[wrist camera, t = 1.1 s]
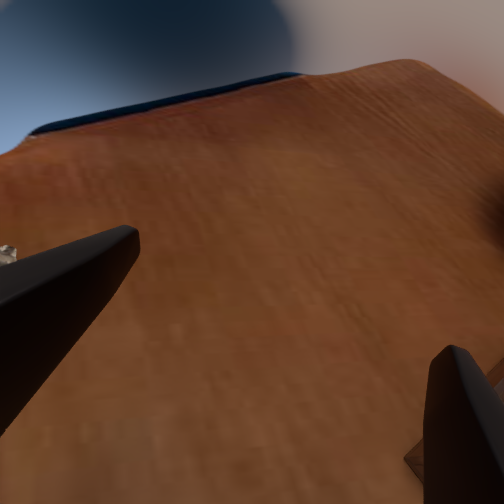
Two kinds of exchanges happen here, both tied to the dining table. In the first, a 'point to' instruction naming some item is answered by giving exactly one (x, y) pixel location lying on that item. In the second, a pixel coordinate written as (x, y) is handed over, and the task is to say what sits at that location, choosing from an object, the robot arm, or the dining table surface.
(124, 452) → the dining table surface
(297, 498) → the dining table surface
